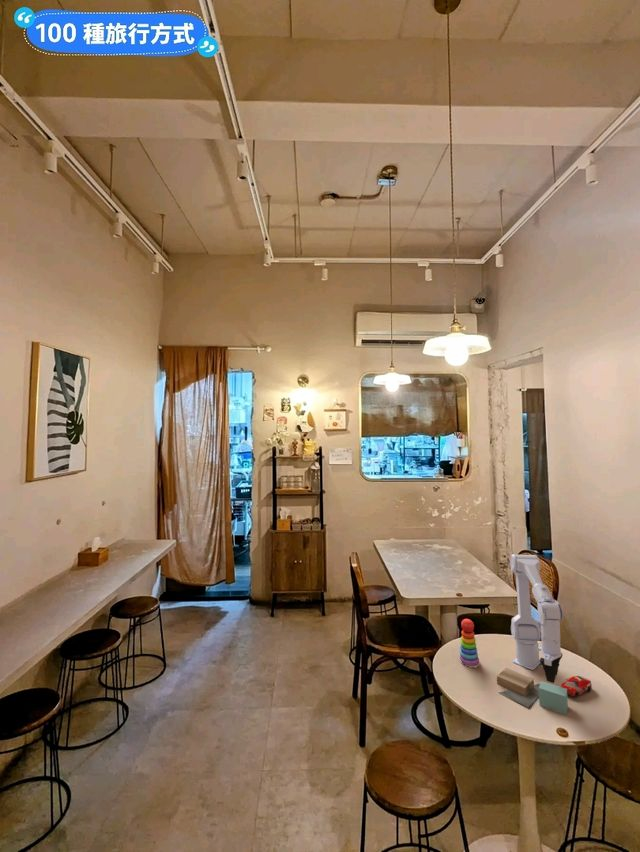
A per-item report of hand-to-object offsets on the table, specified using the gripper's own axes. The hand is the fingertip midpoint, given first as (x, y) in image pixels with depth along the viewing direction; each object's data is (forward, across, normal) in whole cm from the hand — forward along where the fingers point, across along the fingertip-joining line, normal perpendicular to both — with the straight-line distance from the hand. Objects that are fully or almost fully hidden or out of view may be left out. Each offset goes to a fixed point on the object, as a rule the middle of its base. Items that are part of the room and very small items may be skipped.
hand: (552, 677), depth 137 cm
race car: (+11, -11, +5) cm, 16 cm away
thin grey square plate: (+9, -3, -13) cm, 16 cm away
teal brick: (+10, 0, 0) cm, 10 cm away
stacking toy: (+10, -7, -31) cm, 33 cm away
